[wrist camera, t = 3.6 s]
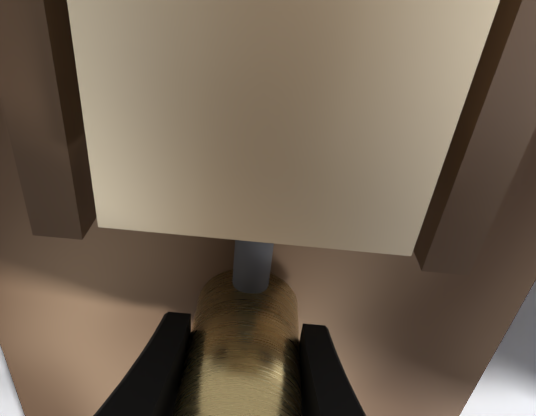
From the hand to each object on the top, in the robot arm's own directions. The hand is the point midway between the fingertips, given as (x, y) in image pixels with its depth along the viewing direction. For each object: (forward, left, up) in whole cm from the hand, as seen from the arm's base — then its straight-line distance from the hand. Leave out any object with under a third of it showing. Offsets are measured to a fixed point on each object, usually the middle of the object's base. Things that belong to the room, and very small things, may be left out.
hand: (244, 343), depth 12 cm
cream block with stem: (0, -5, -1) cm, 5 cm away
